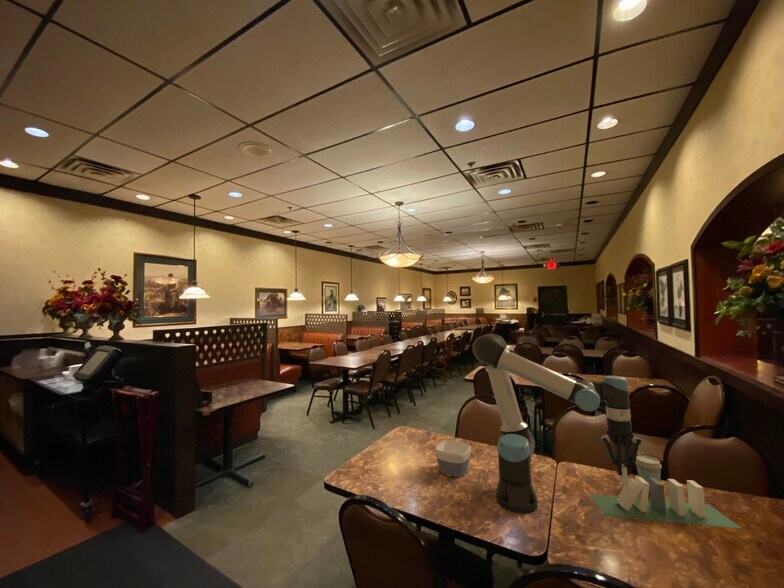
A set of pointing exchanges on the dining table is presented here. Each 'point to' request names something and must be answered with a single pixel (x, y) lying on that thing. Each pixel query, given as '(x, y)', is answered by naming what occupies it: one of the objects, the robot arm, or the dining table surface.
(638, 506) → the domino
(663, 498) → the slate domino
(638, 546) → the dining table surface
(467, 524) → the dining table surface
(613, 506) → the mat
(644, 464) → the coffee cup
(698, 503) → the domino
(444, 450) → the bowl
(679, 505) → the domino
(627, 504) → the domino
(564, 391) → the robot arm
